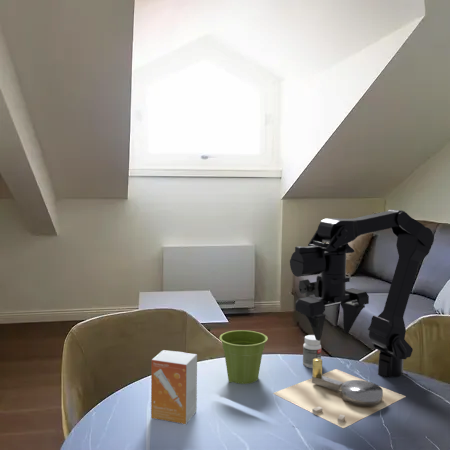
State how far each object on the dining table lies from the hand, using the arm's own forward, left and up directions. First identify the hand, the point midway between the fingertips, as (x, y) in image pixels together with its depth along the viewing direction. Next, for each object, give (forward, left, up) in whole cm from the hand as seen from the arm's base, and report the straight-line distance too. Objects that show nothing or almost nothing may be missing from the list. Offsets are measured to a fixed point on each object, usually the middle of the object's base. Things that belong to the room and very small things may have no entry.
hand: (332, 336), depth 120 cm
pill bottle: (-6, -11, -13) cm, 18 cm away
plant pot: (+14, -16, -13) cm, 25 cm away
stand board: (+3, +5, -13) cm, 14 cm away
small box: (+37, -12, -13) cm, 41 cm away
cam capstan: (+2, +5, -11) cm, 13 cm away
